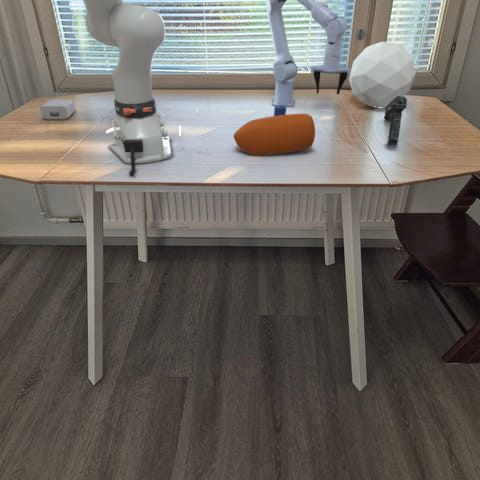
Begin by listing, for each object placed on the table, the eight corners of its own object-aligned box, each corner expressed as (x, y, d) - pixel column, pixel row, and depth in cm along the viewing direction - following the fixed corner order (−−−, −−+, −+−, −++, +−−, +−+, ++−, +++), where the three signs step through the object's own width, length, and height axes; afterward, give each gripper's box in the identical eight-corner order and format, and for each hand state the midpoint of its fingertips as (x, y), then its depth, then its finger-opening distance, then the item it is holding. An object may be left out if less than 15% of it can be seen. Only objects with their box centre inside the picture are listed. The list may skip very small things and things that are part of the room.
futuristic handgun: (389, 146, 153) (397, 104, 149) (399, 145, 125) (409, 94, 122) (379, 144, 154) (386, 103, 150) (386, 144, 126) (395, 93, 122)
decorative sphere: (334, 74, 174) (357, 27, 150) (388, 72, 178) (419, 26, 154) (346, 121, 167) (373, 80, 143) (402, 118, 171) (437, 78, 147)
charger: (80, 107, 160) (68, 119, 148) (56, 106, 160) (42, 119, 148) (77, 94, 158) (65, 106, 145) (53, 94, 157) (39, 106, 145)
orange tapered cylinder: (237, 164, 122) (319, 153, 123) (234, 130, 116) (319, 118, 117) (233, 149, 132) (309, 139, 133) (230, 116, 126) (309, 106, 127)
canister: (284, 122, 149) (285, 108, 146) (273, 121, 150) (274, 108, 147) (285, 118, 152) (286, 105, 150) (274, 118, 153) (275, 104, 150)
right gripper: (312, 56, 146) (308, 95, 154) (353, 58, 144) (347, 97, 152) (312, 52, 152) (308, 90, 159) (352, 54, 150) (346, 92, 158)
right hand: (327, 93), depth 156 cm, fingers open, 7 cm apart
